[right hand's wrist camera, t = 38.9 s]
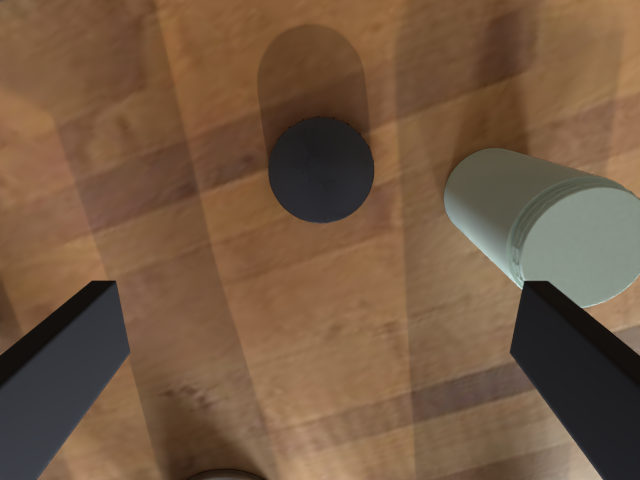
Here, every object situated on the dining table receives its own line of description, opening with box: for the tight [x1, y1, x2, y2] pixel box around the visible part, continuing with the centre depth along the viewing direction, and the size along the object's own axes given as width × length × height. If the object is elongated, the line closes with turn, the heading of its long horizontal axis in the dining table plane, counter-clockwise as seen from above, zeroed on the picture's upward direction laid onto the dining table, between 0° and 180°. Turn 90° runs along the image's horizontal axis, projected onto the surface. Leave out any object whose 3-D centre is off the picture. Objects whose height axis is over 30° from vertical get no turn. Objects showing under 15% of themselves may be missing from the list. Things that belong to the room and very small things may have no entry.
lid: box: [268, 116, 374, 223], centre depth 36 cm, size 10×10×2 cm
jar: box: [444, 148, 640, 308], centre depth 31 cm, size 9×9×15 cm
